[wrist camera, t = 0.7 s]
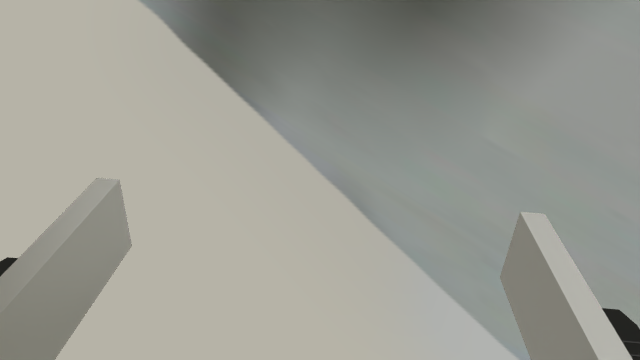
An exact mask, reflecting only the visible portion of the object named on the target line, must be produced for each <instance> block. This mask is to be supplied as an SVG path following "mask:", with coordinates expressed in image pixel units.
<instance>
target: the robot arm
mask: <svg viewBox="0 0 640 360" xmlns="http://www.w3.org/2000/svg"><path fill="white" fill-rule="evenodd" d="M131 246H132V244H131V239H130V234H129V228H128V223H127V217H126V212H125V207H124V202H123V196H122V191H121V185H120V180H116V179H104V178H96V179H95V181H94V182H92V184H90V186H89V187H88V188H87V189H86V190H85V191H84V192H83V193H82V194H81V195H80V196H79V197H78V198H77V199H76V200H75V201H74V202H73V203H72V204H71V205H70V206H69V207H68V208H67V209H66V210H65V211H64V212H63V213H62V214H61V215H60V216H59V217H58V218H57V219H56V220H55V221H54V222H53V223H52V224H51V225H50V226H49V227H48V228H47V229H46V230H45V231H44V233H43V234H42V235H41V236H40V237H39V238H38V239H37V240H36V241H35V242H34V243H33V244H32V245H31V246H30V247H29V248H28V249H27V250H26V251H25V252H24V253H23V254H22V255H21V256H20V257H19V258H6V259H4V260H2V261H1V262H0V360H55V359H56V357H57V356H58V354H59V353H60V351H61V349H62V348H63V347H64V345H65V344H66V342H67V341H68V339H69V338H70V337H71V335H72V334H73V332H74V331H75V329H76V328H77V326H78V325H79V323H80V322H81V320H82V319H83V317H84V316H85V314H86V313H87V311H88V310H89V308H90V307H91V306H92V304H93V303H94V301H95V300H96V298H97V296H98V295H99V294H100V292H101V291H102V289H103V288H104V286H105V285H106V283H107V282H108V280H109V279H110V277H111V276H112V274H113V273H114V272H115V270H116V269H117V267H118V266H119V264H120V263H121V261H122V260H123V258H124V257H125V255H126V254H127V252H128V251H129V249H130V248H131ZM500 279H501V282H502V284H503V287H504V290H505V292H506V295H507V298H508V300H509V303H510V305H511V308H512V311H513V313H514V316H515V319H516V321H517V324H518V326H519V329H520V332H521V334H522V337H523V340H524V342H525V345H526V348H527V350H528V353H529V355H530V358H531V360H640V329H639V328H638V326H637V325H636V324H635V323H634V322H633V321H632V320H630V319H629V318H628V317H627V316H626V315H625V314H624V313H622V312H621V311H620V310H616V309H605V308H601V306H600V305H599V303H598V301H597V300H596V298H595V296H594V295H593V293H592V291H591V290H590V288H589V286H588V285H587V283H586V281H585V280H584V278H583V277H582V275H581V273H580V272H579V270H578V268H577V267H576V265H575V263H574V262H573V260H572V258H571V257H570V255H569V253H568V252H567V250H566V248H565V247H564V245H563V244H562V242H561V240H560V239H559V237H558V235H557V234H556V232H555V230H554V229H553V227H552V225H551V224H550V222H549V220H548V219H547V217H546V215H545V214H541V213H528V212H520V214H519V218H518V221H517V224H516V227H515V230H514V234H513V237H512V240H511V243H510V247H509V250H508V253H507V256H506V259H505V263H504V266H503V269H502V272H501V276H500Z"/></svg>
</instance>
